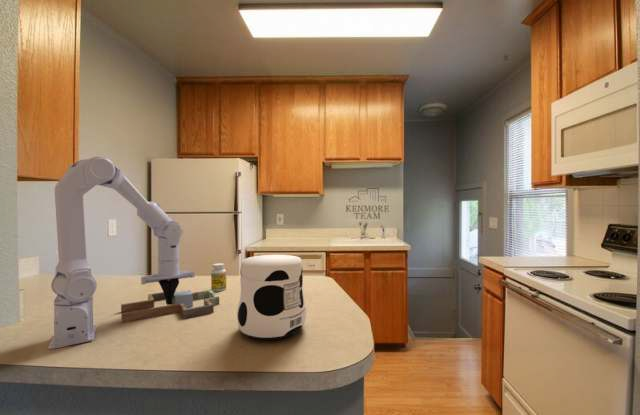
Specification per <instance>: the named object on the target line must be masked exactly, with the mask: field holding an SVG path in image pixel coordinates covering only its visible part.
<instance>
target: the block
mask: <svg viewBox="0 0 640 415" xmlns="http://www.w3.org/2000/svg"><path fill="white" fill-rule="evenodd" d="M192 293H193V292H192V291H191V290H190V289H186V290H180V291H176V292H175V293H174V296H173V300H172V305H173V304H179V303H184V305H185V306H186V308H187V309H189V308H194V307H193V306H194V304H193V303H194V300H193V294H192Z"/></svg>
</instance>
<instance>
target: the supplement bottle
mask: <svg viewBox="0 0 640 415" xmlns="http://www.w3.org/2000/svg"><path fill="white" fill-rule="evenodd" d="M210 275H211V277H210V282H211V283H210V284H211V286H210V287H211V289H210V290H212V291H213V292H223V291H225V290H227V270H226V269H225V263H223V262H221V263H218V262H217V263H213V264H212V270H211V272H210Z"/></svg>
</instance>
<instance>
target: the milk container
mask: <svg viewBox="0 0 640 415" xmlns="http://www.w3.org/2000/svg"><path fill="white" fill-rule="evenodd" d="M239 269H240V277H239V278H240V281H239V282H240V283H239V284H240V297H239V301H238V304H237V310H236V320H237V325H238V329H239V330H240V332H241V334H243V335H246V336H247V337H249V338H252V339H256V340H262V341H263V340H264V341H265V340H267V341H268V340H269V341H271V340H278V339H284V338H287V337H290V336H293V335H294V334H297V332H299V331H300V330H301V329H302V328H303V327H304V325H305V322H306V318H307V306H306V301H305V297H304V293H303V292H304V291H303V290H304V289H303V278H304V276H303V262H302V258H301V257H299V256H296V255H292V254H291V255H289V254H262V255H261V254H260V255H254V256H250V257H246V258H243V259H242V260H241V263H240V268H239Z"/></svg>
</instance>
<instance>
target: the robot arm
mask: <svg viewBox="0 0 640 415" xmlns="http://www.w3.org/2000/svg"><path fill="white" fill-rule="evenodd" d="M96 186H100V187H104V188H109V189H112V190H115V191H116V192H117V193H118V194H120V196H122V197H123V198H124V199H125V201H127V202H129V203H130V204H131V205H132V206H133V207H134V208H135V209H136V214H137V217H138V218H140V219H141V220H142V221H143V222H144V223H145V224H146V225H147V226H148V227H149V228H150V229H152V230H153V235H154V237H157V273H155V274H150V275H144V276H140V283H141V284H140V285H146V284H152V283H158V284H159V285H160V288H161V289H162V292H164V295H165V299H164V300H165V303H166V306H168V305H173V296H174V293H175V291H176V290H177V288H178V286H179V284H180V280H181V279H186V278H187V279H188V278H195V270H182V271H181V270H180V250H179V249H180V245H179V244H180V238H181V237H182V235H183V233H184V232H183V231H184V230H183V229H182V226H181V225H180V222H178V221H175V220H172V219H173V217H172V216H171V215H168V214H167V213H166V212H165V211H164V210H163V209H162V205H161V204H160V203H156V202H155V201H148V200H147V199H146V198H145V197H144V195H143V194H141V192H140V191H139V190H138V189H137V188H136V187H135V186H134V184H132V182H131V181H130V180H129V179H128V178H127V177H126V176H125V174H124V173H123V172H122V170H121V168H119V167H118V166H116V165H115V164H114V163H113V161H112V160H111V159H109V158H108V157H106V156H105V157H104V156H101V155H99V156H98V155H97V156H94V157H91V158H86V159H85V158H84V159H79V160H77V161H76V162H74V163H72V164H70V165H69V166H68V167H67V169H66V171H65V172H64V174H63V175H62V177H60V179H59V181H58V182H57V183H56V184H55V186H54V203H55V218H56V221H55V222H56V232H57V233H56V235H57V251H58V252H57V253H58V262H57V264H56V266H55V268H54V269H55V273H54V274H55V275H54V277H53V279H52V281H51V286H50V288H51V290H52V292H53V293H54V294H56V297H55V298H54V299H53V337H52V339H51V341H50V343H49V345H48V346H47V347H48V348H47V350H55V349H59V348H62V347H63V348H64V347H68V346H72V345H78V344H82V343H88V342H91V341H94V340H95V335H96V330H97V329H96V328H97V325H95V324H94V294H95V292H96V290H97V281H96V278H94V277H93V275H92V268H91V265H90V264H89V262H88V260H87V246H86V245H87V244H86V241H87V240H86V226H85V212H84V211H85V209H84V195H85V194H86V193H89V191H90V190H92V189H93V188H95V187H96Z"/></svg>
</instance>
